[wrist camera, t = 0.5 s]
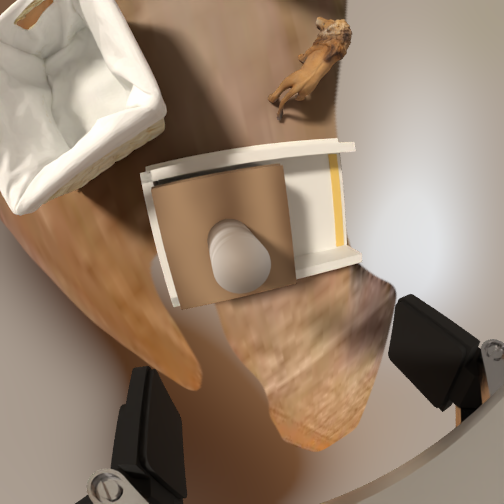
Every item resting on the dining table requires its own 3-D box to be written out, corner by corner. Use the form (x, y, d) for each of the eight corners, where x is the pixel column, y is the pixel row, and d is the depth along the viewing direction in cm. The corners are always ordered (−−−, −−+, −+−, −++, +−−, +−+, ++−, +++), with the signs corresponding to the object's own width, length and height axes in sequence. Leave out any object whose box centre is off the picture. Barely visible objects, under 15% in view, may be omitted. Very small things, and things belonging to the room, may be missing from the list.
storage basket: (23, 71, 20) (-34, 46, 7) (115, 7, 21) (89, -51, 7) (75, 202, 29) (11, 228, 15) (181, 133, 30) (172, 107, 16)
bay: (176, 293, 35) (175, 312, 31) (146, 166, 30) (138, 166, 25) (343, 255, 39) (361, 266, 34) (334, 138, 33) (353, 136, 29)
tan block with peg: (182, 279, 34) (179, 354, 20) (160, 183, 29) (131, 196, 15) (276, 259, 35) (327, 318, 21) (262, 163, 31) (317, 162, 17)
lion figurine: (300, 32, 28) (328, 4, 19) (332, 50, 29) (366, 28, 21) (259, 112, 31) (282, 95, 22) (296, 130, 32) (328, 121, 24)
